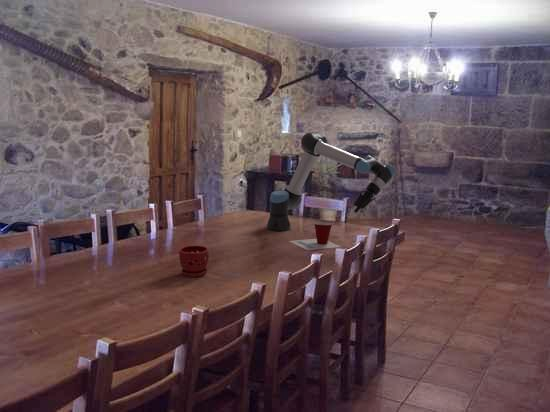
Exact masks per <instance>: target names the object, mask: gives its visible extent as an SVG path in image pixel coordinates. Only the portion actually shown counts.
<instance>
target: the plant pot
mask: <svg viewBox="0 0 550 412" xmlns="http://www.w3.org/2000/svg"><path fill="white" fill-rule="evenodd" d="M178 253H179V255H178V256H179V263H180V266H181V268H182V269H181V273H182V274H183V276H186V277H189V278H190V277H192V278H193V277H195V278H196V277H202V276H205V274H207V273H208V268H207V267H208V264H209V258H210V256H209V255H210V252H209V247H207V246H204V245H185V246H182V247H181V248H179V251H178Z"/></svg>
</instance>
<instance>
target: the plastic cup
mask: <svg viewBox="0 0 550 412" xmlns="http://www.w3.org/2000/svg"><path fill="white" fill-rule="evenodd" d="M313 224H314V228H315V236H316V237H315V239H317V243H318V244H327V242H328V241H329V237H330V234H331V228H332V227H333V226H332V225H333V223H332V222H327V221H325V222H324V221H316V222H315V221H314V222H313Z"/></svg>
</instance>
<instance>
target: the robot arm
mask: <svg viewBox="0 0 550 412" xmlns="http://www.w3.org/2000/svg"><path fill="white" fill-rule="evenodd" d="M327 137H328V136H326V135H325V134H324V133H323V132H320V131H316V132H307V133H305V134H304V135H302V137H301V139H300V146H301V148H302V151H303V153H302V156H301V157H300V160H299V162H298V165H297V166H296V169H295V170H294V173H293V176H292V177H291V179H290V182H289V184H288V185H286V186H285V187H284V189H283V190H275V191H272V192H271V193H270V196H269V218H268V219H267V222H266V223H267V224H266V229H267V230H269V231H273V232H274V231H276V232H285V231H290V230H291V222H290V218H289V210H294V209H296V208H297V207H299V206H300V204H301V203H302V195H303V191H302V190H303V187H304V186H305V183H306V182H307V181H306V180H307V179H308V177H309V174H310V172H311V171H312V168H313V167H314V166H313V165H314V164H315V162H316V159H317V158H320V156H322V157H325V158H327V159H329V160H332V161H334V162H336V163H338V164H342V165H344V166H347V167H349V168H351V169H354V170H355V171H357V173H359V174H364V175H365V174H367V173H372V174H373V175H375V177H374V178H373V179H372V180H371V181H370V183H368V185H367V186H366V190H364V192H362V191H361V192H360V193H359V195H358V197H357V198H356V200H355V202H353V205H354V207H353V208H352V209H351V210H350V212H349V213H348V215H349V217H350V218H354V216H355V215H356V214H357V213H358V212H359V211H360V210H361V209H362V210H363V209H365V208H366V207H367V206H369V204H371V202H373V201H374V200H376V196H378V194H379V193H380V192H381V190H382V189H383V188H384V187H385V186H386V185H387V183H388V182H389V181H391V179H392V178H393V177H394V176H395V174H396V172H397V169H396V168H395V167H394V166H393V165H392V164H390V163H385V164H383V163H381V162H380V161H378V160H377V159H376V158H374V157H372V156H371V155H369V154H368V155H366V156H365V157H364V158H362V157H360V156H358V155H354V154H353V153H350V152H348V151H345V150H344V149H341V148H338V147H336V146H334V145H331V144H328V143H329V141H328V138H327Z"/></svg>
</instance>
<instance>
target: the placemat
mask: <svg viewBox="0 0 550 412" xmlns="http://www.w3.org/2000/svg"><path fill="white" fill-rule="evenodd" d="M288 242H289V243H290V244H293V245H295V246H297V247H299V248H301V249H304V250H306V251H312V250H313V251H314V250H324V249H325V250H326V249H335V248H342V246H341V245H338V244H336V243H333V242H331V241H329V240H328V242H327V244H318V243H317V238H311V239H310V238H308V239H299V240H298V239H297V240H288Z"/></svg>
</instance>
